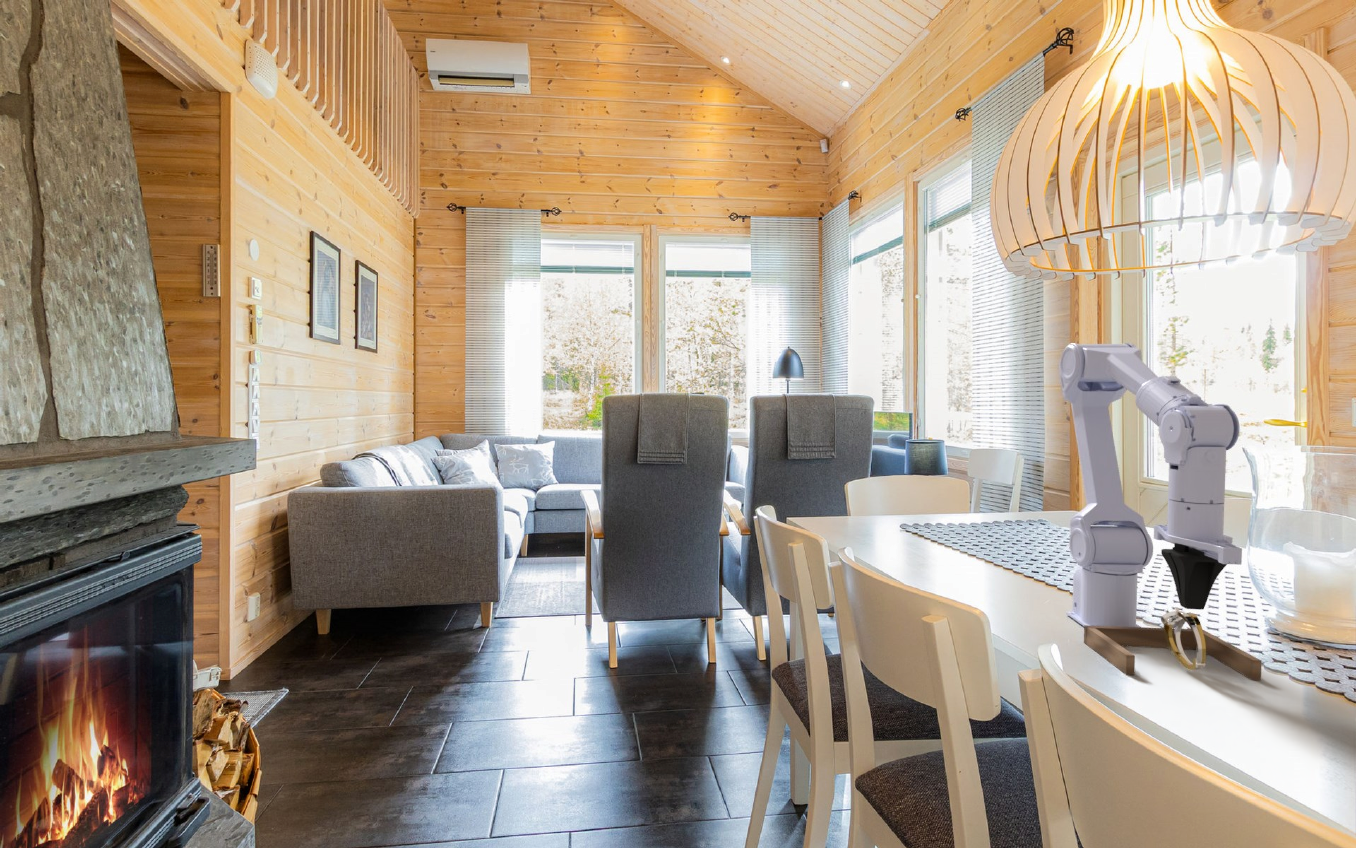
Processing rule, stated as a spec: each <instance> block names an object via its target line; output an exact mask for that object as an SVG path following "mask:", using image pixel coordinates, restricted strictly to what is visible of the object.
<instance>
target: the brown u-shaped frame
mask: <svg viewBox="0 0 1356 848" xmlns="http://www.w3.org/2000/svg"><path fill="white" fill-rule="evenodd" d="M1083 628H1084V630H1083V643H1084V644H1085V645H1087V646H1088V647H1089V648H1090V649H1092V650H1093V651H1095V652H1096V653H1097V654H1099V656H1100V657H1102V658H1104V659H1105V660H1106V661H1107V662H1109V663H1110V664H1111V665H1113V666H1114V667H1115V668H1117V669H1118V670H1119V671H1121V672H1122V673H1123V674H1124V675H1128V676H1135V669H1136V668H1135V665H1136V664H1135V663H1136V655H1135V654H1134V653H1132V652H1130V651H1129V650H1127V649H1126V648H1125V647H1132V648H1134V647H1135V648H1154V649H1155V648H1156V649H1157V648H1158V649H1162V648H1163V649H1170V647H1169V645H1168V643H1167V640H1166V637H1165V633H1164V627H1142V626H1140V627H1117V626H1088V625H1084V626H1083ZM1174 630H1175V628H1172V636H1173V640H1174ZM1202 630H1203V634H1204V638H1205V645H1206V655H1208V656H1210V657H1212V658H1214V659H1215V660H1217V661H1219V662H1220V663H1222V664H1223V665H1225V666H1227V667H1229V668H1230V669H1233V670H1234V671H1235V672H1238V673H1240V674H1242V675H1243V676H1245V677H1246V678H1248V679H1250V680H1251V681H1262V659H1259V658H1258V657H1256V656H1253V655H1252V654H1250V653H1248V652H1246V651H1244V650H1242V649H1240V648H1238V647H1237V646H1234V645H1233V644H1231V643H1229V642H1227V641H1225V640H1223V639H1221V638H1219V637H1218V636H1216V635H1214V634H1212V633H1210V632H1208V631H1206V630H1204V629H1202ZM1180 641H1181V645H1182V648H1183V650H1184V649H1185V650H1196V642H1195V638H1194V635H1193V632H1192V630H1191V628H1182V629H1181V632H1180ZM1174 643H1175V641H1174Z"/></svg>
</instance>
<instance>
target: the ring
mask: <svg viewBox="0 0 1356 848" xmlns="http://www.w3.org/2000/svg"><path fill="white" fill-rule="evenodd" d="M1164 611H1165V613H1164V614H1163V615H1162V616H1161V618H1160V621H1161V623H1162V624H1163V628H1164V633H1165V637H1166V640H1167V643H1168V645H1169V647H1170V648H1169V650H1170V651H1171V652H1172V654H1173V656H1174V657H1175V659H1177V661H1178V662H1179V664H1181V666H1182V667H1184V668H1185V669H1187V670H1189V671H1197V670H1202V669H1205V668H1206V659H1207V658H1206V657H1207V654H1206V645H1205V638H1204V634H1203V630H1204V629H1203V627H1202V623H1201V621H1200V619H1199V617H1198V615H1196V614H1195V613H1193V612H1192V613H1191V612H1184V611H1181V610H1180V609H1179V607H1174V610H1173V611H1169V610H1168V609H1167V610H1164ZM1185 624H1187V625H1188V626H1189V629H1191V630H1192V632H1193V635H1194V638H1195V642H1196V649H1195V650H1196V656H1195V658H1193V660H1192V662H1191V660H1189V658H1188V656H1187V655H1186V654H1185V651H1184V649H1183V648H1182V645H1181V641H1180V632H1181V629H1183V627H1184V625H1185ZM1172 628H1174V629H1175V630H1174V640H1173V636H1172ZM1174 641H1175V643H1174Z"/></svg>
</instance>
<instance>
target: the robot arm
mask: <svg viewBox="0 0 1356 848" xmlns="http://www.w3.org/2000/svg"><path fill="white" fill-rule="evenodd" d="M1058 373H1059V381H1060V389H1061V391H1062V392H1061V393H1062V397H1063V400H1064V399H1065V400H1066V401H1068V402H1069V403H1070V406H1071V411H1072V418H1073V427H1074V431H1075V438H1076V444H1077V452H1078V457H1079V458H1078V460H1079V466H1080V472H1081V479H1082V484H1083V485H1082V486H1083V490H1084V496H1085V497H1084V498H1085V504H1086V505H1085V507H1083V508H1082V509H1081V510H1080V511H1079V512H1077V513H1075V515H1073V517H1072V518H1071V519H1070V520H1069V526H1070V527H1069V528H1070V531H1069V532H1070V534H1069V535H1070V536H1069V541H1068V543H1069V544H1068V545H1069V550H1070V555H1071V557H1072V558H1073V560H1074V562H1075V563H1077V565H1078V567H1077V569H1076V570H1075V571H1074V573H1073V577H1072V579H1073V581H1072V608H1071V609H1072V610H1067V611H1065V612H1066V615H1067V616H1068V617H1070V618H1071V619H1073V620H1074V621H1076V622H1077V623H1078V624H1079V625H1081V626H1082V627H1084V625H1088V626H1117V627H1141V625H1138V624H1137V606H1138V605H1137V604H1138V601H1137V599H1138V574H1139V573H1141V574H1142V573H1144V570H1143V569H1144V568H1145V567H1146V566H1148V565H1149V564H1150V562H1151V559H1152V558H1153V554H1154V544H1153V539H1155V540H1157V541H1165V542H1167V543H1171V544H1173V545H1174V546H1173V547H1172V548H1162V549H1161V553H1160V554H1161V555H1162V557H1163V559H1164V560H1165V562H1166V563H1167V564H1166V565H1167V566H1168V568H1169V570H1170V573H1171V576H1172V577H1173V578H1172V579H1173V581H1174V584H1175V585H1174V586H1175V589H1176V594H1177V598H1178V602H1179V605H1180V606H1181V607H1182V608H1184V609H1187V610H1204V609H1205V607H1206V606H1207V605H1206V604H1207V602H1208V599H1209V596H1210V593H1211V591H1212V588H1213V585H1214V584H1215V582H1216V580H1217V578H1218V576H1219V575H1220V573H1221V572H1222V571H1223V570H1224V569H1225V568H1226V566H1227V565H1242V561H1243V560H1242V559H1243V558H1242V557H1243V548H1241V547H1239V546H1236V545H1235V544H1233V537H1232V536H1228V535H1224V523H1225V522H1224V521H1225V498H1226V497H1225V495H1226V494H1225V493H1226V492H1225V491H1226V467H1227V464H1226V462H1227V451H1229V450H1230V449H1232V448H1233V447H1234V446H1235V445H1236V443H1237V442H1238V440H1239V436H1240V431H1241V429H1240V422H1239V418H1238V416H1237V414H1236V413H1235V411H1234V410H1233V409H1232V408H1231V406H1230V405H1228V404H1224V403H1217V404H1212V403H1207V402H1205V400H1203V399H1202V397H1201V396H1199V394H1197V393H1193V392H1192V391H1191V390H1190V389H1189V388H1187V387H1185V385H1183V384H1182V383H1181V379H1180V378H1178V377H1177V376H1158V375H1157V374H1155V373H1154V371H1153V370H1152V369H1151V368H1149V366H1147V365H1146V363H1144V362H1143V355H1142V350H1141V349H1140V348H1138V347H1137V346H1136V345H1135V344H1133V342H1132V343H1131V342H1123V343H1092V344H1091V343H1089V344H1088V343H1083V344H1082V343H1077V342H1076V343H1074V342H1071V343H1069V344H1067V345H1066V347H1065V348H1064V349H1063V351H1062V352H1061V355H1060V360H1059V363H1058ZM1127 391H1129V392H1130V393H1131V394H1133V395H1135V405H1136V407H1137V409H1138V410H1139V411H1140V412H1141V413H1143V414H1144V415H1145V417H1147V418H1148V419H1149V420H1150V421H1151V422H1152V423H1154V424H1155V425H1156V426H1157V427H1158V435H1159V439H1160V442H1161V444H1162V446H1163V459H1164V461H1165V463H1166V464H1168V482H1167V483H1168V485H1167V486H1168V488H1167V519H1166V524H1154V525H1153V539H1152V537H1151V536H1150V534H1149V532H1148V530H1147V528H1146V523H1145V521H1144V517H1143V515H1141V514H1139V512H1137V511H1135V510H1134V509H1132V508H1131V507H1130V506H1128V505H1127V504H1126V502H1125V499H1124V498H1125V497H1124V493H1123V486H1122V481H1121V474H1120V470H1119V469H1120V468H1119V464H1118V457H1117V451H1116V446H1115V440H1114V436H1113V435H1114V434H1113V428H1112V427H1113V426H1112V423H1111V415H1110V410H1109V407H1110V405H1111V404H1112V403H1113V402H1116V401H1118V400H1120V399H1122V397H1123V396H1124V395H1125V393H1126V392H1127Z"/></svg>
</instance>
